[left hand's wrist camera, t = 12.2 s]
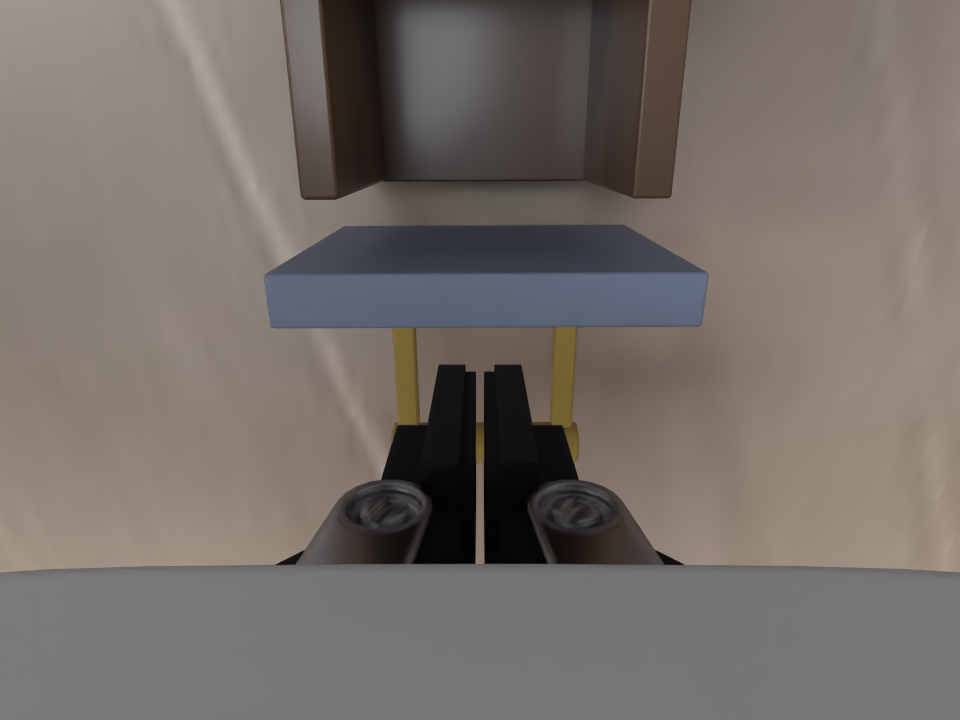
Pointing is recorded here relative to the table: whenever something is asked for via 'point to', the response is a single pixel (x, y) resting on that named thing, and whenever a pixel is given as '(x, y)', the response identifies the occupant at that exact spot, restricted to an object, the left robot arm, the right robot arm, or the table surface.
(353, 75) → the drawer
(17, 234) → the table surface
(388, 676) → the left robot arm
